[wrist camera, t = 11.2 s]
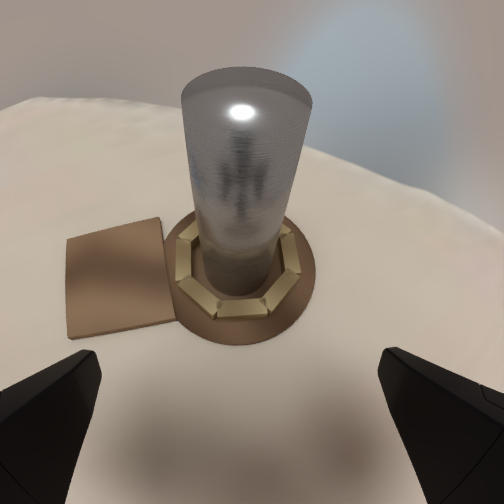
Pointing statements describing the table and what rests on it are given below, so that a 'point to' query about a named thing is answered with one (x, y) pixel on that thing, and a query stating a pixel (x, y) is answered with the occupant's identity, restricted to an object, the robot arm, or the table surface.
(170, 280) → the hub seat
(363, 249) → the table surface
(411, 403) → the robot arm
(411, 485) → the table surface
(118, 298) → the stand pad
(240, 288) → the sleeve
